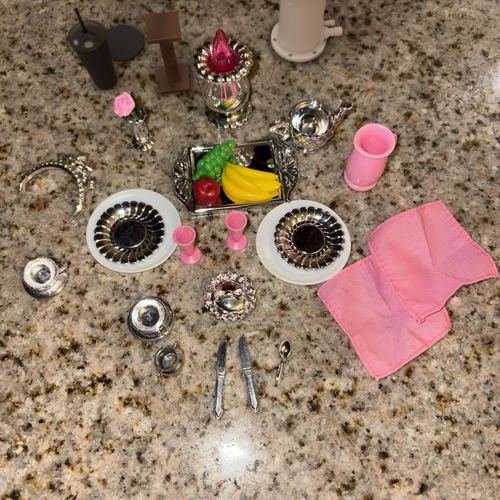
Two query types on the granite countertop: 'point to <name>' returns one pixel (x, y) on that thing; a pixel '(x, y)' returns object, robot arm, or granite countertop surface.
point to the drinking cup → (93, 51)
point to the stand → (167, 50)
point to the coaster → (124, 42)
